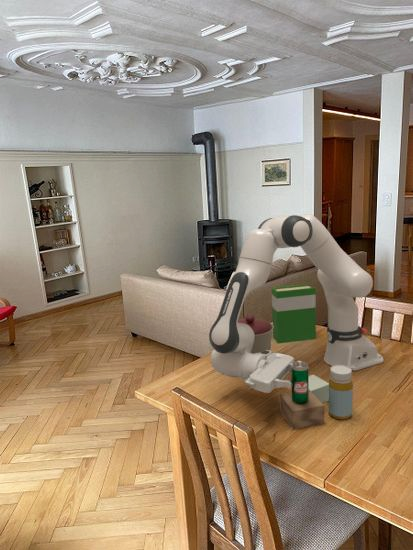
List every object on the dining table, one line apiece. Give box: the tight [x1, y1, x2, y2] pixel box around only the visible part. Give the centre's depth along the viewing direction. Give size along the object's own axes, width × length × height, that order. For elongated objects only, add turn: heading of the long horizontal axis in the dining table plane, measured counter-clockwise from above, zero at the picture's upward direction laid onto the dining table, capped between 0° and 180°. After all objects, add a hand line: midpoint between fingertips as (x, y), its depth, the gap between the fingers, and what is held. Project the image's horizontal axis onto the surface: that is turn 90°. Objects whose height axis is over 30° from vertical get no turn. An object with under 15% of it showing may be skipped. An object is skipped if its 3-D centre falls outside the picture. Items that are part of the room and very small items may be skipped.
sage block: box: [309, 374, 329, 404], centre depth 136 cm, size 8×8×6 cm
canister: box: [238, 314, 274, 354], centre depth 161 cm, size 18×18×21 cm
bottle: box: [328, 365, 354, 420], centre depth 125 cm, size 7×7×15 cm
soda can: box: [290, 360, 310, 404], centre depth 124 cm, size 5×5×12 cm
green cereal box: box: [271, 283, 317, 345], centre depth 185 cm, size 18×7×24 cm, turn 98°
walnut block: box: [279, 390, 325, 430], centre depth 126 cm, size 10×10×6 cm
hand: (297, 377), depth 124 cm, fingers open, 8 cm apart
